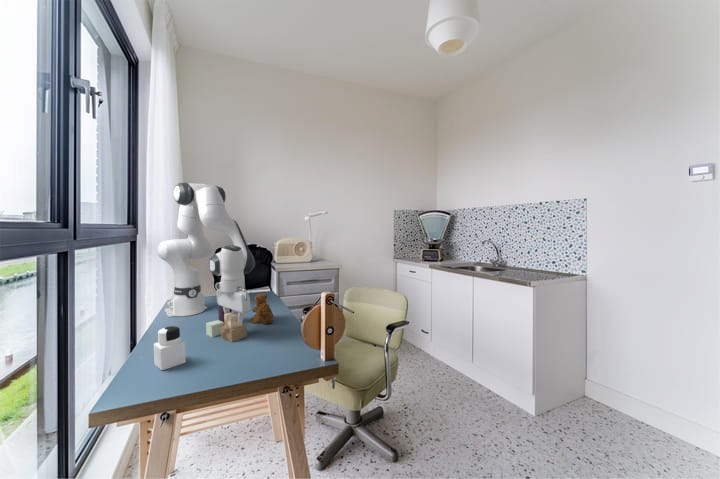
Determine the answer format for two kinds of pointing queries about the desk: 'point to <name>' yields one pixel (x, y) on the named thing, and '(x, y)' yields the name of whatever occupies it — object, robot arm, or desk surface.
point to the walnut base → (234, 333)
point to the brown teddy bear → (262, 310)
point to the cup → (221, 313)
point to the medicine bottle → (169, 348)
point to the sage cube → (214, 328)
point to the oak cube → (231, 320)
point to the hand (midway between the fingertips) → (233, 319)
